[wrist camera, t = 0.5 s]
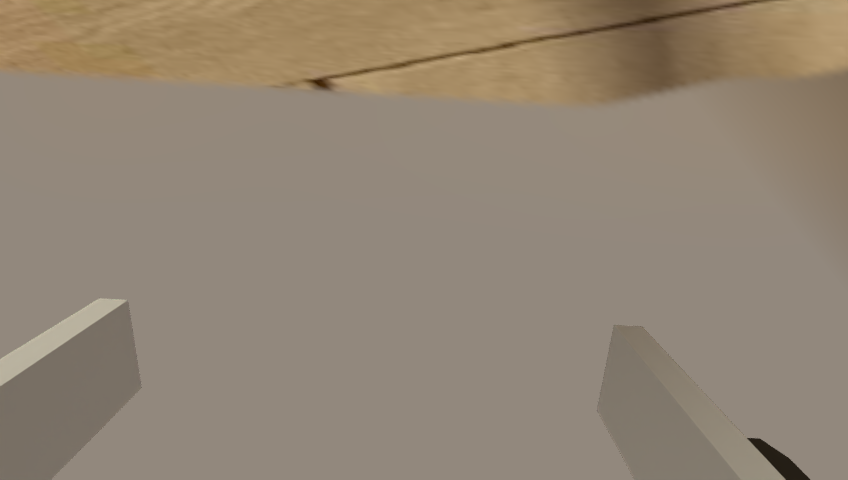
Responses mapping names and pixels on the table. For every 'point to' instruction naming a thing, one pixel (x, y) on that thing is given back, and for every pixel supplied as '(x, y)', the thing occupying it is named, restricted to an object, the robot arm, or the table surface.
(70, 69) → the table surface
